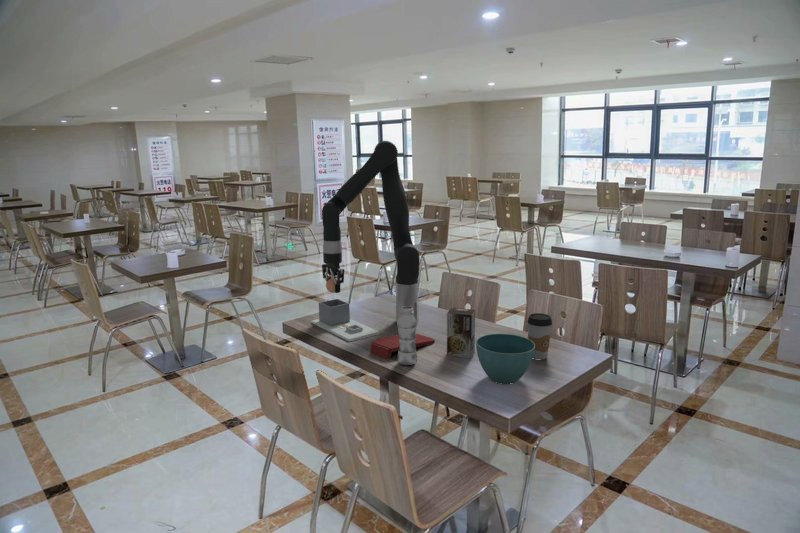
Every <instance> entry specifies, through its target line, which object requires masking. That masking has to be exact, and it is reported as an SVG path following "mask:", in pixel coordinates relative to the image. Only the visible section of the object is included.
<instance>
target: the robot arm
mask: <svg viewBox="0 0 800 533" xmlns="http://www.w3.org/2000/svg"><path fill="white" fill-rule="evenodd" d="M398 155H399V154H398V148H397V146H396V145H395V143H394V142H391V141H389V140H382V141H379V142H378V143H377V144H376V145H375V147H374V150H373V152H372V154H371V155H370V156H369V158H368V160H367V161H366V162H365V163H364V164H363V165H362V166H361V168H360V169H358V170H357V171H356V172H355V173H354V174H353V175H352V176H351V177H350V178H349V179H348V180H347V181H346V182H345V183H344V184H343V185H342V186H341V187H340V188H339V189H338V191H337V192H336V194H334V195H333V196H332V197H331V198H330V199H329V200H328V201H327V202H326V203H325V204H324V205H323V207H322V210H321V220H322V227H323V229H322V230H323V232H322V233H323V235H322V236H323V238H322V240H323V243H322V251H323V252H322V253H323V254H322V255H323V256H322V257H323V264H321V271H322V272H321V273H322V278H323V279H324V280H325V283H327V281H328V280H329V279H331V278H333V279H334V282H335V293H334V294H340V293H341V286H340V284H344V283H345V281H344V280H345V269H344V268H341V266H340V264H341V263H342V261H343V254H342V252H343V251H342V248H343V247H342V237H341V234H342V232H341V227H340V215H341V214H342V212H343V211H344V210H345V209H346V208H347V207H348V206H349V205H350V204H351V203H352V202H353V201H354V200H356V198H357V197H358V196H359V195H360V194H361V193H362V192H363V191H364V190H365V188H366V187H367V186H368V185H369V184H370V183H371V181H372V180H374V178H375V177H376V176H377V175H378V174H379V173H380V177H381V187H382V189H381V190H382V197H383V203H384V209H385V212H386V216H387V221H388V224H389V228H390V230H391V235H392V236H391V237H392V241H393V242H392V244H393V254H394V259H395V260H396V262H397V263H396V276H395V322H396V324H397V322H398V319H399V318H400V316H401V315H402V313H401V311H402V307H404V306H410V307H413V313H412V315H413V316H414V318H415V319H416V322H417V324H418V322H419V276H420V253H419V252H420V251H419V250H418V249H417V247H415V246H414V244H413V240H412V236H411V233H410V210H409V204H408V199H407V195H406V191H405V188H404V184H403V182H402V178H401V176H400V172H399V171H400V170H399V165H398V164H399V163H398ZM336 279H337V280H336Z"/></svg>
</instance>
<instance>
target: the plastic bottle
mask: <svg viewBox="0 0 800 533" xmlns="http://www.w3.org/2000/svg"><path fill="white" fill-rule="evenodd" d="M401 313H402V315H401V316H400V318H399V319H398V322H397V323H396V326H397V331H398V335H399V350H398V351H397V362H398V363H399V364H400V365H403V366H411V365H412V366H413V365H414V364H416V362H417V359H418V354H417V349H416V348H417V347H416V346H415V334H417V333H416V331H417V325H418V323H417V322H416V319H415V318H414V316H413V315H412V313H413V307H410V306H404V307H402V311H401Z"/></svg>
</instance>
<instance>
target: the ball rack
mask: <svg viewBox="0 0 800 533" xmlns="http://www.w3.org/2000/svg"><path fill="white" fill-rule="evenodd" d="M350 314H351V312H350V303H349V302H347V301H344V300H342V299H339V298H335V299H334V298H333V299H330V300H326V301H319V302H318V317H319V318H317V319H312V320H311V324H313V325H314V326H317V327H319V328H321V329H323V330H324V331H326V332H329V333H330V334H332V335H334V336H336V337H339V338H341V339H343V340H344V341H347V342H354V341H357V340H362V339H366V338H369V337H373V336H377V335H380V331H379V330H376V329H374V328H372V327H369V326H367V325H365V324H363V323H360V322H358V321H356V320H354V319H352V318H351V315H350Z"/></svg>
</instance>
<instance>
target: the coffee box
mask: <svg viewBox="0 0 800 533" xmlns="http://www.w3.org/2000/svg"><path fill="white" fill-rule="evenodd" d="M475 347H476V309H470V308H457V307H450V309H448V312H446V356H447V355H448V356H447V357H455V356H456V357H458V358H467V359H472V358H473V357H474V355H475V353H476V352H475Z"/></svg>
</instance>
